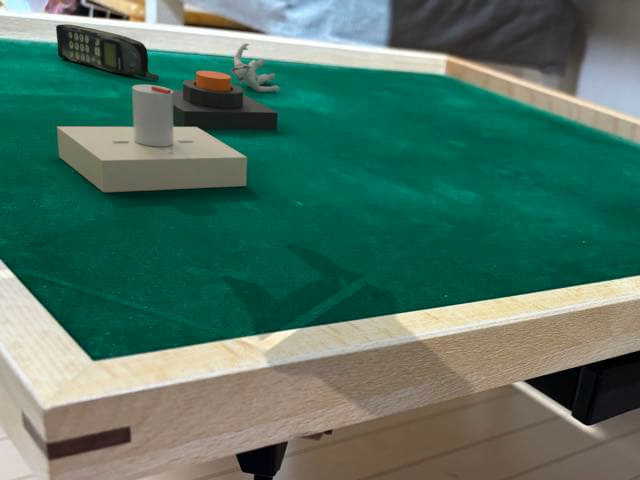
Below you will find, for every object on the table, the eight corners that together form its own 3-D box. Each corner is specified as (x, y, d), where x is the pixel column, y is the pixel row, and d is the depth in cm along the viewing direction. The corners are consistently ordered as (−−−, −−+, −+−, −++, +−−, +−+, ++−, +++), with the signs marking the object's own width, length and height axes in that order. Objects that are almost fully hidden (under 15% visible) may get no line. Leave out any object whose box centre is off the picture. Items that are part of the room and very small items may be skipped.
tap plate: (103, 192, 80) (101, 158, 78) (58, 157, 86) (56, 124, 85) (246, 186, 89) (247, 155, 88) (196, 154, 96) (197, 125, 94)
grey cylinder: (125, 139, 85) (123, 83, 83) (149, 134, 88) (148, 79, 86) (157, 148, 84) (157, 92, 82) (181, 143, 88) (181, 88, 85)
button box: (184, 130, 103) (184, 95, 101) (148, 107, 109) (147, 74, 107) (277, 130, 111) (278, 97, 109) (238, 109, 117) (239, 78, 115)
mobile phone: (51, 21, 120) (146, 43, 117) (67, 21, 122) (161, 42, 120) (54, 60, 122) (148, 82, 120) (70, 58, 125) (162, 80, 122)
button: (205, 93, 106) (205, 78, 105) (190, 84, 108) (190, 70, 107) (236, 94, 108) (237, 79, 108) (221, 85, 111) (221, 71, 110)
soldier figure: (288, 93, 136) (279, 80, 124) (263, 111, 136) (252, 100, 124) (255, 48, 134) (243, 32, 122) (229, 67, 134) (215, 52, 122)
